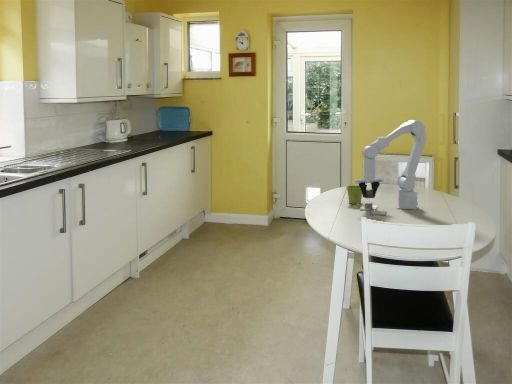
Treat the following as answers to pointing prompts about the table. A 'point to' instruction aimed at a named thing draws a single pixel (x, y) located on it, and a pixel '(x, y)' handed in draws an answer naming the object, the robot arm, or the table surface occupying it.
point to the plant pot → (354, 194)
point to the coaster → (377, 212)
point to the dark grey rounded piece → (369, 193)
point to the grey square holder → (368, 206)
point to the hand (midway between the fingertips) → (368, 197)
